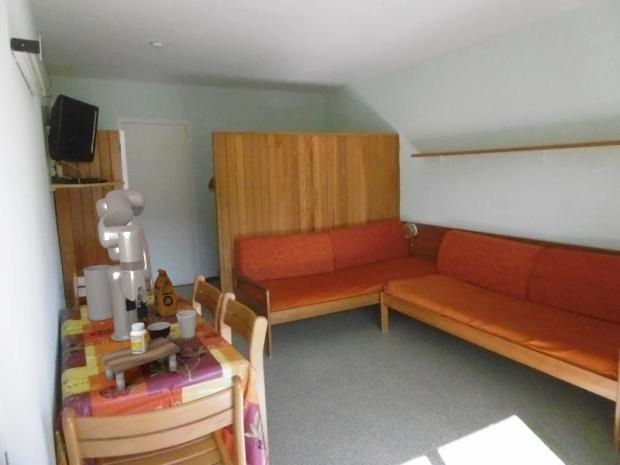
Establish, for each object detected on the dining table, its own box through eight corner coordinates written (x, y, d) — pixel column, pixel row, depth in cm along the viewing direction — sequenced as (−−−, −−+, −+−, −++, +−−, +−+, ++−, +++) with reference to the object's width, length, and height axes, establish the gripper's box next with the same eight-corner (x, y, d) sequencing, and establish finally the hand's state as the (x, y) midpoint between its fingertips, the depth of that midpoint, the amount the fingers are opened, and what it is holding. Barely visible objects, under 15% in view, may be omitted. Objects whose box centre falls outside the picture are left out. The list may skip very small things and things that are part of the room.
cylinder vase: (122, 315, 205) (117, 266, 202) (98, 323, 195) (92, 271, 191) (107, 311, 212) (102, 263, 208) (83, 318, 201) (78, 269, 198)
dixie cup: (174, 339, 173) (173, 317, 171) (181, 332, 181) (180, 310, 180) (194, 339, 173) (192, 316, 171) (200, 331, 181) (198, 310, 179)
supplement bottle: (136, 355, 139) (133, 328, 137) (128, 351, 142) (126, 325, 141) (151, 350, 143) (149, 324, 141) (143, 346, 146) (141, 320, 145)
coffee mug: (159, 356, 157) (157, 331, 156) (144, 351, 162) (142, 327, 160) (183, 345, 167) (181, 321, 165) (169, 341, 171) (167, 318, 170)
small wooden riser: (102, 379, 141) (99, 355, 139) (163, 357, 156) (161, 336, 155) (117, 394, 131) (114, 369, 130) (181, 369, 146) (179, 347, 145)
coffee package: (158, 318, 199) (155, 274, 195) (153, 311, 209) (150, 269, 206) (179, 314, 204) (176, 271, 200) (173, 308, 214) (170, 266, 211)
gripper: (111, 263, 141) (116, 310, 144) (131, 272, 129) (135, 323, 132) (133, 259, 146) (137, 305, 149) (154, 267, 134) (158, 317, 137)
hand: (136, 313), depth 141 cm, fingers open, 9 cm apart
